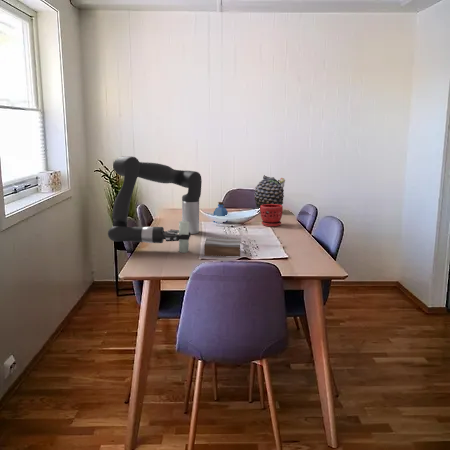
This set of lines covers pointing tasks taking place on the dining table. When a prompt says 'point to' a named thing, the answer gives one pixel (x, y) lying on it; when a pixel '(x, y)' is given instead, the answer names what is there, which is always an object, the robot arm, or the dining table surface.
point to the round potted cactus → (269, 192)
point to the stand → (222, 247)
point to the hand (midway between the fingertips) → (189, 235)
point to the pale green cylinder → (185, 231)
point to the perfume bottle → (220, 210)
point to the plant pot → (271, 214)
